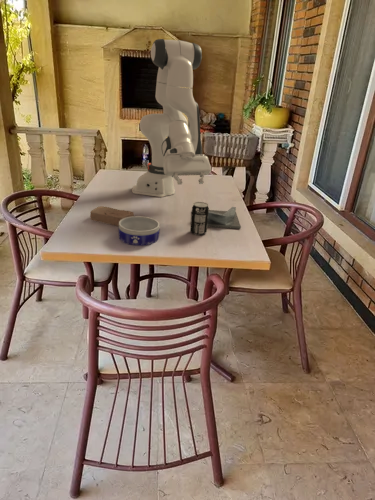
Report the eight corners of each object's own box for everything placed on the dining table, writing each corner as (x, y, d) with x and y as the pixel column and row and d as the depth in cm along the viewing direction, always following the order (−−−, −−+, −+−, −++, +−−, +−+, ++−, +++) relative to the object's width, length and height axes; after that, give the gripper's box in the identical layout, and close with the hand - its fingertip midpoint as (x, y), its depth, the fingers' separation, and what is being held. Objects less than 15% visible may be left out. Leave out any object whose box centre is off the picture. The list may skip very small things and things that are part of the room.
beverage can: (198, 228, 157) (200, 200, 152) (209, 233, 153) (212, 205, 148) (186, 231, 153) (189, 203, 148) (198, 237, 149) (201, 208, 144)
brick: (89, 220, 157) (88, 209, 155) (100, 214, 164) (100, 204, 162) (124, 228, 152) (124, 217, 150) (134, 222, 159) (134, 211, 157)
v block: (192, 211, 175) (193, 200, 173) (235, 214, 176) (236, 203, 173) (193, 226, 159) (194, 214, 156) (240, 229, 159) (242, 217, 157)
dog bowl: (160, 231, 152) (161, 217, 149) (157, 247, 138) (157, 232, 135) (122, 228, 151) (122, 214, 149) (115, 244, 138) (115, 229, 135)
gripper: (204, 158, 166) (211, 186, 162) (159, 158, 159) (165, 188, 155) (209, 150, 160) (216, 179, 156) (163, 150, 153) (169, 180, 149)
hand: (190, 183), depth 155 cm, fingers open, 8 cm apart
